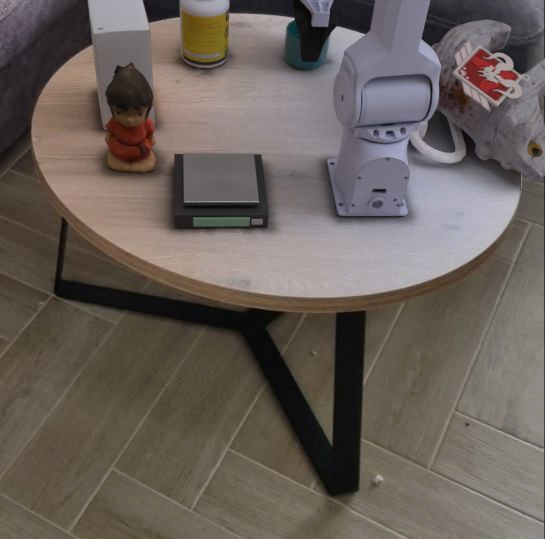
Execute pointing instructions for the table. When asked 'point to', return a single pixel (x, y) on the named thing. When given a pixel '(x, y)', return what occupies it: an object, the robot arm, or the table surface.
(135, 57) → the small box
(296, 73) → the table surface
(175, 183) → the scale base
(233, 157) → the pan
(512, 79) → the decorative emblem
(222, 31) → the pill bottle
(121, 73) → the figurine
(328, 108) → the table surface
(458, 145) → the white looped part
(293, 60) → the cup
